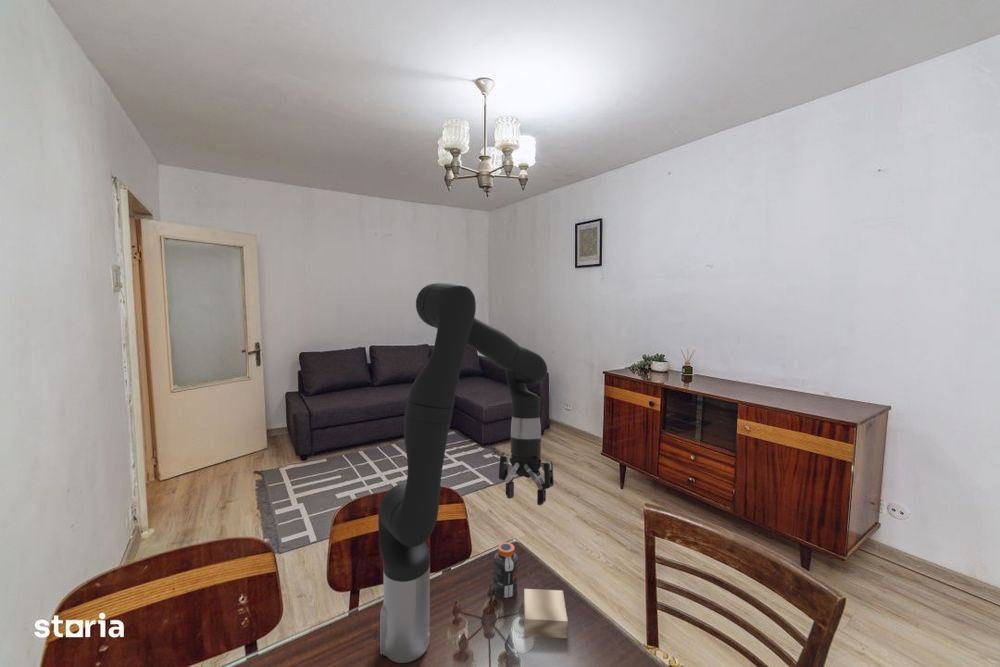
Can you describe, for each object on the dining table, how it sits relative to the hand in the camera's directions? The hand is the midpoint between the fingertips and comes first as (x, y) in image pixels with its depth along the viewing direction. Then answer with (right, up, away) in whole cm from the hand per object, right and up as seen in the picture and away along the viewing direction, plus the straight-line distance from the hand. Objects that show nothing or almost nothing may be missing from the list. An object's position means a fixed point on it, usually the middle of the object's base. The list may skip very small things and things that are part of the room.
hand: (525, 501), depth 103 cm
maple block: (+4, -23, -10) cm, 25 cm away
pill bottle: (-5, -22, -1) cm, 22 cm away
